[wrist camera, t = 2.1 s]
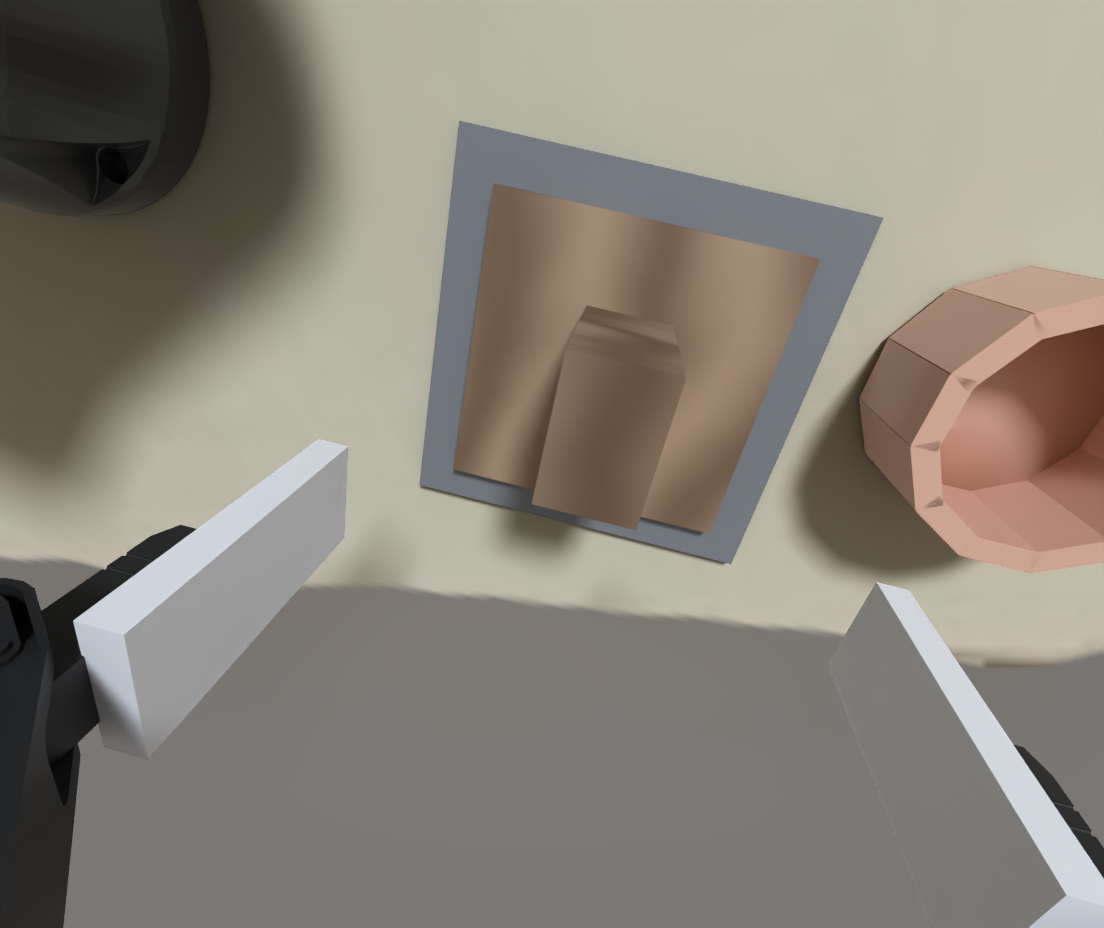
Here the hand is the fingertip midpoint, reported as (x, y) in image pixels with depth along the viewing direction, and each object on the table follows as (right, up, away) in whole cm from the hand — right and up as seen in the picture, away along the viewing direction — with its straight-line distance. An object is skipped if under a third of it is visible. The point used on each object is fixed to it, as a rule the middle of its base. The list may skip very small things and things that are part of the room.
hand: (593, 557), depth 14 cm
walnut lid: (+2, +7, +13) cm, 15 cm away
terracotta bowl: (+19, +5, +12) cm, 23 cm away
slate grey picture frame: (+2, +7, +14) cm, 16 cm away
